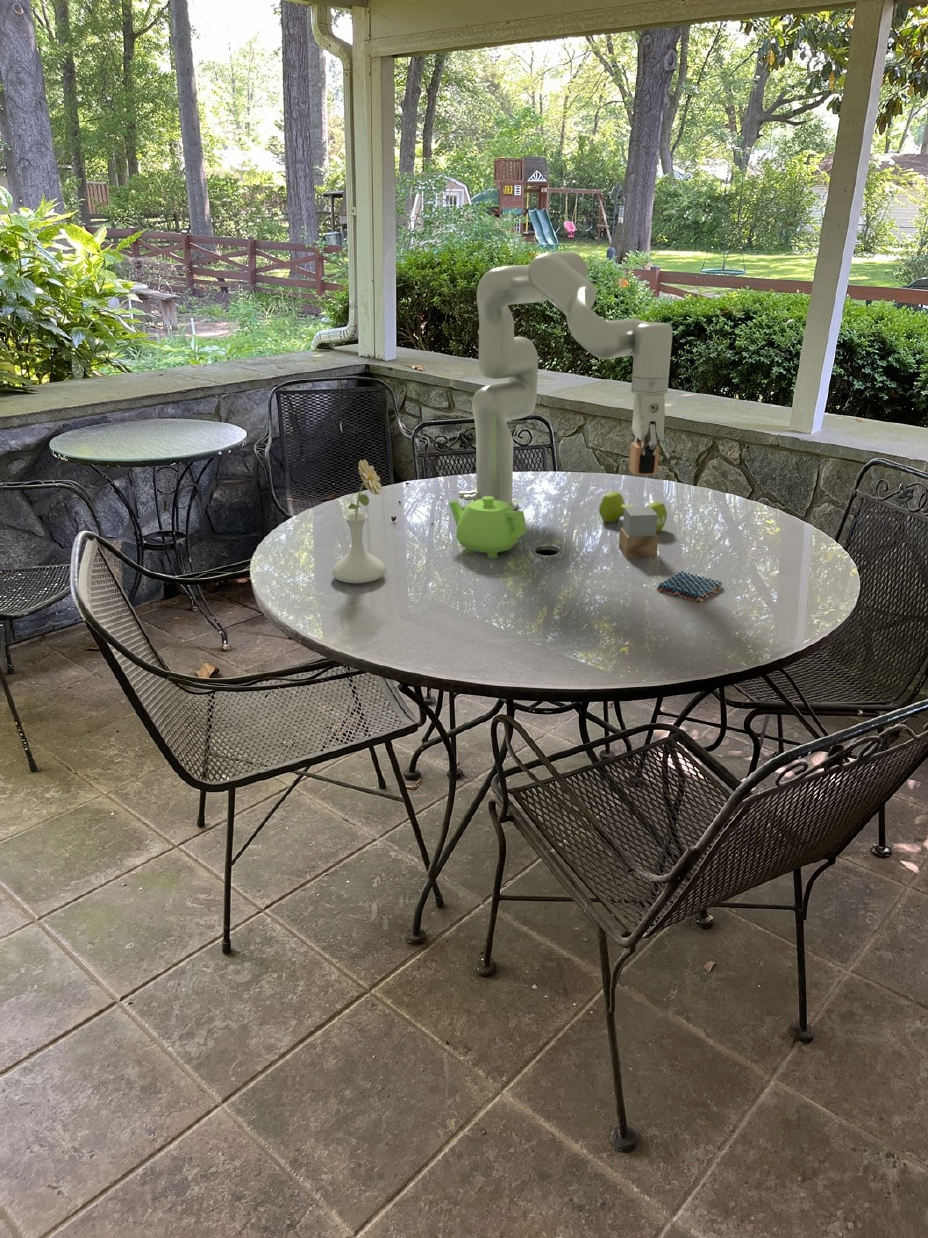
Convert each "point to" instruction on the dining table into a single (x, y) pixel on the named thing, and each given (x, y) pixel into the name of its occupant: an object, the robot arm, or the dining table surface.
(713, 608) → the dining table surface
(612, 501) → the dumbbell
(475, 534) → the teapot
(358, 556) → the flower in vase
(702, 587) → the woven mat
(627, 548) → the tower base
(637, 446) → the terracotta block
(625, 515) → the tower top
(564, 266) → the robot arm
